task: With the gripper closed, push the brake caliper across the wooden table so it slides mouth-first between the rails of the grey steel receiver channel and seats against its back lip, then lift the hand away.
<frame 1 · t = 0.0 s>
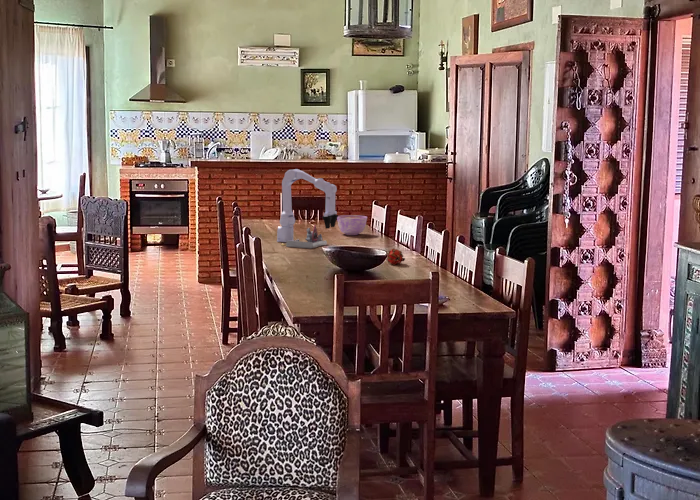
hand: (330, 227, 504), 10 cm above the table, tool pointing down, fingers open, 7 cm apart
brass key: (286, 245, 501), on the table
brake caliper: (314, 243, 511), on the table
receiver: (304, 245, 498), on the table
dragon fruit: (395, 264, 438), on the table
purple rounded bowl: (351, 234, 554), on the table
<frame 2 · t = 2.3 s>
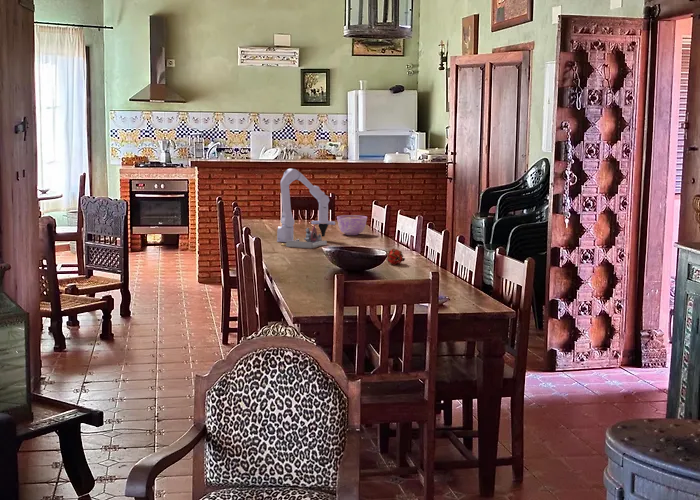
hand: (323, 236, 523), 3 cm above the table, tool pointing down, fingers closed
nothing on the table moved.
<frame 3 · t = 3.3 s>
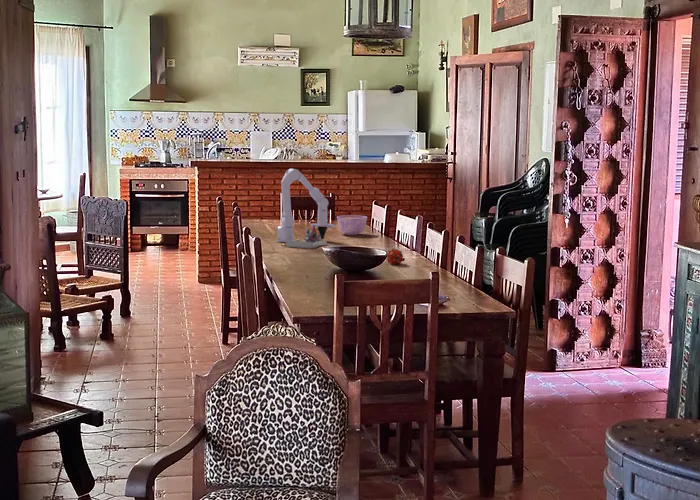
hand: (322, 239, 522), 1 cm above the table, tool pointing down, fingers closed
nothing on the table moved.
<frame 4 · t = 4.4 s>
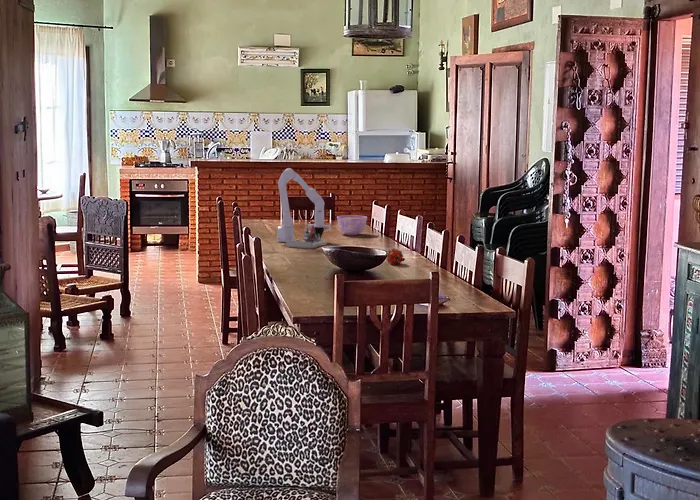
hand: (319, 239, 517), 1 cm above the table, tool pointing down, fingers closed
brake caliper: (311, 243, 511), on the table, touching gripper
everything else where it was.
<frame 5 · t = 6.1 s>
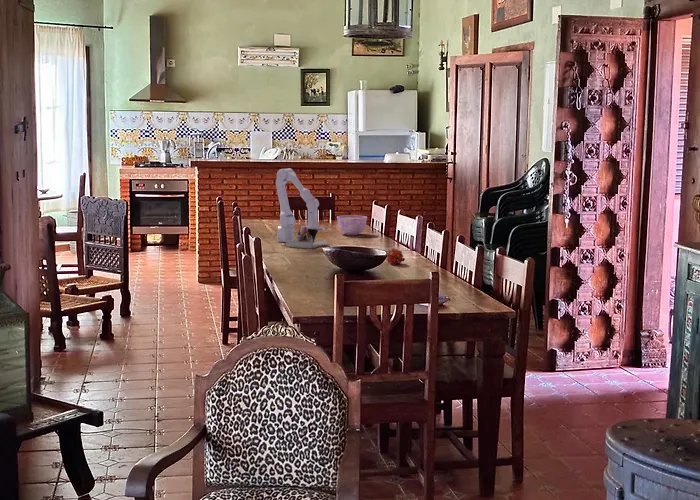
hand: (312, 241, 508), 1 cm above the table, tool pointing down, fingers closed
brake caliper: (304, 245, 502), on the table, touching gripper
everything else where it was.
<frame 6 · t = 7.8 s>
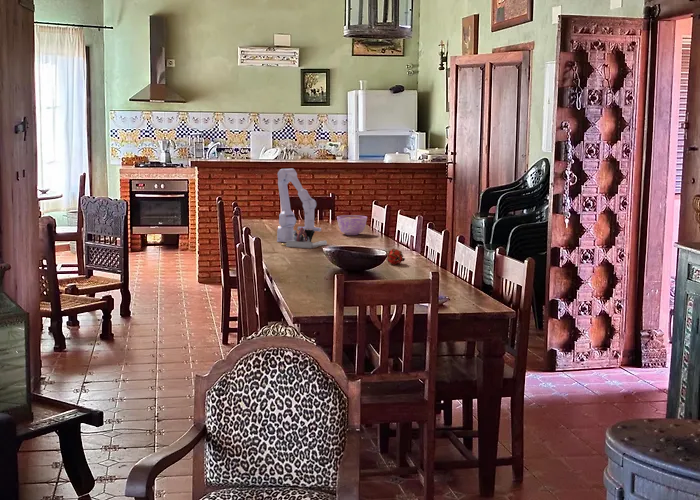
hand: (309, 242, 504), 1 cm above the table, tool pointing down, fingers closed
brake caliper: (301, 246, 498), on the table, touching gripper, receiver
everything else where it was.
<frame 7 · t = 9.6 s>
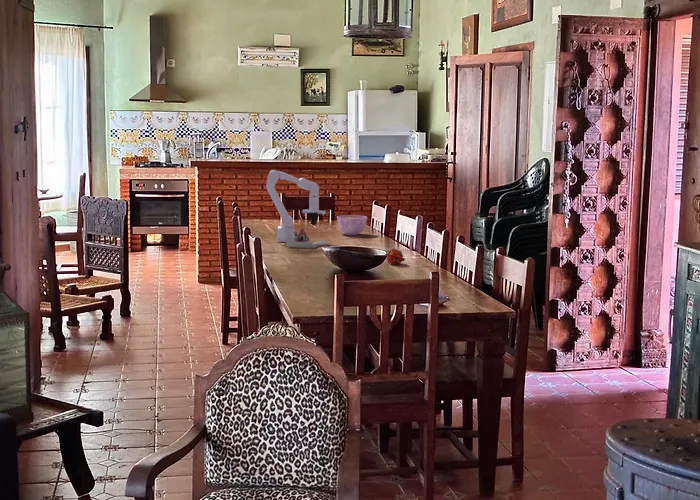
hand: (313, 225, 516), 10 cm above the table, tool pointing down, fingers closed
brake caliper: (301, 246, 498), on the table, touching receiver
everything else where it was.
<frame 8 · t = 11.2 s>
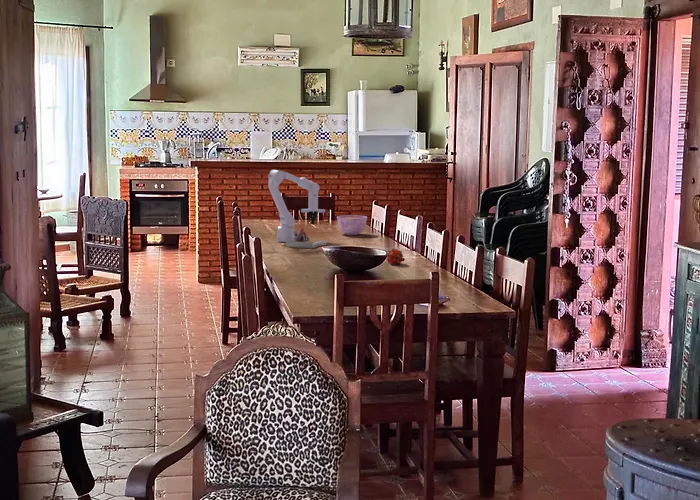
hand: (313, 224, 522), 10 cm above the table, tool pointing down, fingers closed
brake caliper: (301, 246, 498), on the table
everything else where it was.
at the end: brake caliper inside the target area (1.9 cm from its centre), on the table; brake caliper tilted 0°; brass key touching table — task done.
